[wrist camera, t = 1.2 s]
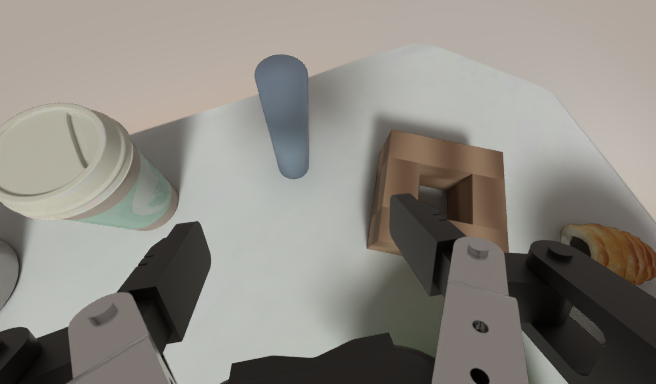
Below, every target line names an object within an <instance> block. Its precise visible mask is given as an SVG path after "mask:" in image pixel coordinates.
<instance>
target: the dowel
mask: <svg viewBox="0 0 656 384" xmlns="http://www.w3.org/2000/svg"><path fill="white" fill-rule="evenodd" d="M255 80H256V84H257V88H258V92H259V96H260V99H261V103H262V107H263V111H264V114H265V118H266V122H267V126H268V129H269V133H270V137H271V141H272V144H273V148H274V152H275V156H276V160H277V163H278V167H279V170H280V172H281V174H282V175H283V176H285V177H287V178H289V179H298V178H301V177H302V176H304V175H305V174H306V173H307V171H308V168H309V133H308V73H307V69H306V67H305V65H304V64H303V63H302V62H301V61H300V60H298V59H297V58H295V57H292V56H289V55H273V56H270V57H268V58H266V59H264V60H263V61H261V62H260V63H259V64H258V66H257V68H256V70H255Z"/></svg>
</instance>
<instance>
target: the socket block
mask: <svg viewBox="0 0 656 384" xmlns="http://www.w3.org/2000/svg"><path fill="white" fill-rule="evenodd" d="M419 185H421V186H426V187H431V188H436V189H441V190H446V191H448V206H447V220H449V221H450V222H451V223H452V224H454V225H455V226H456V227H457V228H458V229H459V230H460V231H462V232H463V233H464V234H465V235H466V236H467V237H478V238H482V239H486V240H488V241H491V242H492V243H494V244H496V245H497V246H499V247H500V248H501V249H502V251H503V252H504V253H509V248H508V232H507V215H506V198H505V181H504V164H503V152H500V151H495V150H490V149H485V148H480V147H475V146H470V145H465V144H460V143H455V142H450V141H445V140H440V139H435V138H430V137H425V136H420V135H415V134H410V133H405V132H400V131H395V130H391V132H390V134H389V136H388V138H387V140H386V142H385V144H384V146H383V148H382V150H381V152H380V156H379V163H378V171H377V178H376V185H375V193H374V200H373V207H372V215H371V222H370V230H369V237H368V244H367V249H372V250H377V251H381V252H386V253H391V254H396V255H401V256H403V255H402V253H401V252H400V250H399V249H398V247H397V246H396V244H395V243H394V241H393V240H392V237H391V235H390V230H389V217H390V198H391V196H392V195H396V194H403V193H410V194H412V195H413V196H414V197H415V198H416V199H417V200H418V190H419Z"/></svg>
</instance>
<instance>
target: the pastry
mask: <svg viewBox="0 0 656 384" xmlns="http://www.w3.org/2000/svg"><path fill="white" fill-rule="evenodd" d="M561 235H562V236H561V243H563V244H566V245H569V246H572V247H574V248H576V249H578V250H580V251H581V252H583V253H584V254H586V255H588V256H589V257H591V258H592V259H594V260H596V261H597V262H599V263H600V264H602V265H603V266H605V267H607V268H608V269H610V270H611V271H613V272H614V273H616V274H618V275H619V276H621V277H622V278H624V279H625V280H627V281H629V282H630V283H632V284H633V285H638V284H642V283H643V282H644V281H648V280H652V279H653V278H655V277H656V253H655V252H654V251H653V250H652V248H651V247H649V246H648V245H647V244H645V243H643V242H641V240H640V239H639V238H638V237H635V236H631V234H630V233H628V232H624V231H619V230H618V229H616V228H612V227H603V226H601V225H599V224H585V225H573V224H569V225H567V226H565V227H564V229H563V231H562V232H561Z"/></svg>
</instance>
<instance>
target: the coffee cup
mask: <svg viewBox="0 0 656 384" xmlns="http://www.w3.org/2000/svg"><path fill="white" fill-rule="evenodd" d="M0 202H2V203H3V204H4V205H5V206H6V207H8V208H9V209H11V210H13V211H15V212H18V213H20V214H22V215H24V216H26V217H29V218H33V219H39V220H58V219H65V220H72V221H79V222H85V223H92V224H99V225H106V226H112V227H119V228H126V229H133V230H140V231H147V230H152V229H156V228H158V227H160V226H162V225H163V224H165V223H166V222H167V221H168V220H169V219H170V218H171V217H172V216H173V214H174V213H175V211H176V208H177V205H178V195H177V192H176V190H175V189H174V187H173V186H172V185H171V184H170V183H169V182H168V181H167V179H166V178H165V177H164V176H163V175H162V174H161V173H160V172H159V171H158V170H157V169H156V168H155V166H154V165H153V164H152V163H151V162H150V161H149V160H148V159H147V158H146V157H145V156H144V155H143V153H142V152H141V151H140V150H139V149H138V148H137V147H136V146H135V145H134V144H133V143H132V141H131V138H130V136H129V134H128V132H127V131H126V129H125V128H124V127H123V126H122V125H121V124H120V123H118V122H117V121H115V120H114V119H112V118H110V117H108V116H107V115H104V114H102V113H100V112H97V111H93V110H90V109H88V108H85V107H83V106H80V105H76V104H70V103H53V104H46V105H41V106H37V107H34V108H32V109H28V110H26V111H24V112H22V113H20V114H18V115H16V116H14V117H12V118H11V119H9V120H8V121H6V122H5V123H4V124H3V125H1V126H0Z"/></svg>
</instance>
